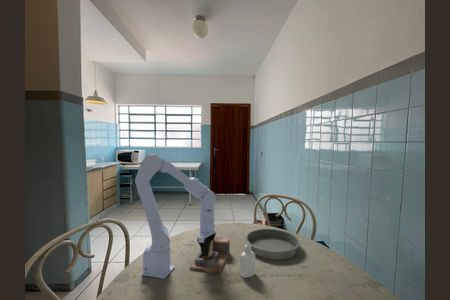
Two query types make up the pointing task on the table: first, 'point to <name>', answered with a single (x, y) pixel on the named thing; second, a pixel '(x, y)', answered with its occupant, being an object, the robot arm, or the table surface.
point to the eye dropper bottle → (247, 262)
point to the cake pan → (273, 243)
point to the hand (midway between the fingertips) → (207, 252)
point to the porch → (213, 257)
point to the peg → (209, 252)
